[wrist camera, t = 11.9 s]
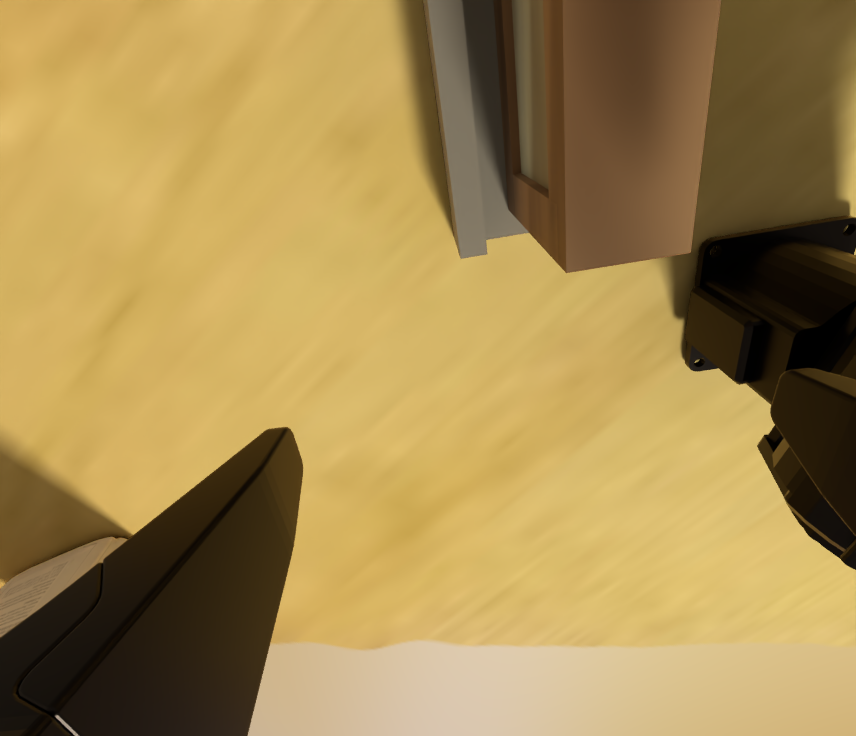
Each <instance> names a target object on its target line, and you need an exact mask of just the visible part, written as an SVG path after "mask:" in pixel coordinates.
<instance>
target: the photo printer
mask: <svg viewBox="0 0 856 736" xmlns="http://www.w3.org/2000/svg"><path fill="white" fill-rule="evenodd" d="M127 540H128V539H125V538H117V539H116V538H114V537H107V538H103V539H99V540H96V541H93V542H90V543H88V544H85V545H83V546H80V547H78V548H76V549H73V550H71V551H68V552H66V553H64V554H61V555H59V556H57V557H54V558H52V559H50V560H48V561H45V562H43V563H41V564H38V565H36V566H34V567H31V568H29V569H27V570H26V571H24V572H22V573H20V574H18V575H16V576H14V577H13V578H12V579H10V580H9V581H8V582H7V583H6V584H5V585H4V586H2V587H1V588H0V637H1V636H3V635H4V634H5V633H7V632H8V631H9V630H11V629H12V628H14V627H15V626H16V625H18V624H19V623H21V622H22V621H23V620H25V619H26V618H27V617H29V616H30V615H32V614H33V613H34V612H36V611H37V610H38V609H40V608H41V607H42V606H44V605H45V604H46V603H47V602H49V601H50V600H51V599H53V598H54V597H55V596H57V595H58V594H59V593H60V592H62V591H63V590H64V589H66V588H67V587H68V586H70V585H71V584H72V583H74V582H75V581H76V580H77V579H79V578H80V577H81V576H82V575H84V574H85V573H86V572H87V571H89V570H90V569H91V568H92V567H94V566H95V565H96V564H97V563H100V562H102V563H103V560H104V558H105V557H106V556H108V555H109V554H110V553H111V552H113V551H114V550H115V549H117V548H118V547H119V546H120V545H122V544H123V543H124V542H125V541H127Z"/></svg>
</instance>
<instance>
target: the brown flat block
mask: <svg viewBox="0 0 856 736" xmlns="http://www.w3.org/2000/svg"><path fill="white" fill-rule="evenodd" d="M493 2H494V16H495V29H496V43H497V57H498V71H499V85H500V99H501V113H502V127H503V141H504V154H505V168H506V182H507V196H508V210H509V211H510V212H511V213H512V214H513V215H514V217H515V218H516V219H517V220H518V221H519V222H520V223H521V224H522V225H523V226H524V227H525V229H526V230H527V231H528V232H529V233H530V234H531V235H532V236H533V237H534V238H535V239H536V240H537V242H538V243H539V244H540V245H541V246H542V247H543V248H544V249H545V250H546V251H547V252H548V254H549V255H550V256H551V257H552V258H553V259H554V260H555V261H556V262H557V263H558V264H559V266H560V267H561V268H562V269H563V270H564V271H565V272H566V273H569V272H576V271H582V270H588V269H594V268H600V267H606V266H613V265H619V264H625V263H631V262H637V261H643V260H650V259H656V258H662V257H668V256H674V255H681V254H687V253H691V246H692V238H693V229H694V221H695V213H696V205H697V196H698V188H699V180H700V172H701V163H702V155H703V147H704V139H705V130H706V122H707V114H708V106H709V97H710V89H711V81H712V73H713V64H714V56H715V48H716V40H717V31H718V23H719V15H720V7H721V0H493Z"/></svg>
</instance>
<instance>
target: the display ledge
mask: <svg viewBox="0 0 856 736" xmlns="http://www.w3.org/2000/svg"><path fill="white" fill-rule="evenodd" d="M423 5H424V12H425V20H426V27H427V35H428V42H429V50H430V57H431V65H432V72H433V80H434V88H435V95H436V103H437V110H438V118H439V125H440V133H441V140H442V148H443V155H444V163H445V170H446V178H447V186H448V193H449V201H450V208H451V216H452V223H453V231H454V238H455V242H456V245H457V248H458V252H459V255H460V258H461V259H462V258H468V257H474V256H480V255H486V254H487V245H486V240H488V239H494V238H500V237H506V236H512V235H517V234H523V233H529V232H528V231H527V230H526V229H525V227H524V226H523V225H522V224H521V223H520V222H519V221H518V220H517V219H516V218H515V217H514V215H513V214H512V213H511V212H510V211H509V210H508V196H507V182H506V168H505V154H504V141H503V127H502V113H501V99H500V85H499V71H498V57H497V43H496V29H495V16H494V2H493V0H423Z"/></svg>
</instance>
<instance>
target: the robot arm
mask: <svg viewBox="0 0 856 736" xmlns="http://www.w3.org/2000/svg"><path fill="white" fill-rule="evenodd" d="M847 225H848V228H847V229H846V231H844V232H843V230H844V228H845V227H846V226H847ZM715 246H717V249H716V251H715V252H714V253H713V254H711V255H710V251H711V249H712V248H713V247H715ZM855 249H856V218H855V217H851V216H841V217H835V218H829V219H823V220H817V221H811V222H805V223H798V224H792V225H786V226H780V227H774V228H768V229H762V230H756V231H750V232H744V233H738V234H731V235H725V236H719V237H713V238H710V239H707V240H706V241H705V242H703V244H702V245H701V246H700V249H699V255H698V262H697V270H696V278H695V286H694V288H693V290H692V291H691V294H690V302H689V310H688V318H687V326H686V334H685V339H686V341H687V348H686V355H685V364H686V365H687V366H688V367H689V368H690V369H691V370H693V371H704V370H711V369H717V368H719V369H720V370H721V371H723V372H724V373H725V374H726V375H727V376H728V377H730V378H731V379H732V380H733V381H734V382H736V383H737V384H739V385H740V384H747V385H748V386H749V387H751V388H752V389H753V390H754V391H755V392H757V393H758V394H759V395H760V396H761V397H763V398H764V399H765V400H766V401H767V402H769V403H770V404H771V411H770V413H771V417H772V420H773V422H774V424H775V426H774V427H773V429H772V430H771V432H770V433H769V434H768V435H764V436H763V438H762V439H761V441H760V442H759V444H758V445H757V447H758V449H759V451H760V453H761V454H762V456H763V458H764V460H765V462H766V464H767V466H768V468H769V470H770V471H771V473H772V475H773V477H774V479H775V481H776V483H777V485H778V487H779V488H780V490H781V492H782V494H783V496H784V499H785V501H786V503H787V505H788V507H789V508H790V509H791V511H792V513H793V515H794V516H795V518H796V519H797V521H798V522H799V524H800V525H801V526H802V527H803V528H804V530H805V531H806V533H807V534H808V535H809V536H810V537H811V538H812V539H814V540H815V541H817V542H819V543H820V544H821V545H822V546H823V547H825V548H826V549H827V550H829V551H830V552H832V553H833V554H834V555H836V556H837V557H839V558H840V559H841V560H842V561H843V562H844V563H845V564H846V565H847V566H849V567H851V568H853V569H855V570H856V255H854V252H855ZM699 358H700V360H699V361H698V362H696V363H694V362H695V361H696V360H697V359H699ZM302 477H303V463H302V459H301V456H300V453H299V450H298V447H297V444H296V441H295V438H294V435H293V432H292V431H291V429H290V428H288V427H282V428H273V429H268V430H266V431H264V432H263V433H262V434H261V435H259V436H258V437H257V438H256V439H254V440H253V441H252V442H251V443H249V444H248V445H247V446H245V447H244V448H243V449H242V450H240V451H239V452H238V453H237V454H235V455H234V456H233V457H232V458H230V459H229V460H228V461H227V462H225V463H224V464H223V465H221V466H220V467H219V468H218V469H216V470H215V471H214V472H213V473H211V474H210V475H209V476H208V477H206V478H205V479H204V480H203V481H201V482H200V483H199V484H197V485H196V486H195V487H194V488H192V489H191V490H190V491H189V492H187V493H186V494H185V495H184V496H182V497H181V498H180V499H179V500H177V501H176V502H175V503H173V504H172V505H171V506H170V507H168V508H167V509H166V510H165V511H163V512H162V513H161V514H160V515H158V516H157V517H156V518H154V519H153V520H152V521H151V522H149V523H148V524H147V525H146V526H144V527H143V528H142V529H141V530H139V531H138V532H137V533H136V534H134V535H133V536H132V537H130V538H129V539H128V540H127V541H125V542H124V543H123V544H122V545H120V546H119V547H118V548H117V549H115V550H114V551H113V552H111V553H110V554H109V555H108V556H106V557H105V558H104V560H103V563H102V562H100V563H97V564H96V565H95V566H94V567H92V568H91V569H90V570H89V571H87V572H86V573H85V574H84V575H82V576H81V577H80V578H79V579H77V580H76V581H75V582H74V583H72V584H71V585H70V586H68V587H67V588H66V589H64V590H63V591H62V592H60V593H59V594H58V595H57V596H55V597H54V598H53V599H51V600H50V601H49V602H47V603H46V604H45V605H44V606H42V607H41V608H40V609H38V610H37V611H36V612H34V613H33V614H32V615H30V616H29V617H27V618H26V619H25V620H23V621H22V622H21V623H19V624H18V625H16V626H15V627H14V628H12V629H11V630H9V631H8V632H7V633H5V634H4V635H3V636H1V637H0V736H247V735H248V731H249V727H250V723H251V718H252V715H253V711H254V707H255V703H256V699H257V695H258V691H259V686H260V683H261V678H262V674H263V670H264V666H265V662H266V658H267V654H268V650H269V646H270V642H271V638H272V634H273V630H274V625H275V621H276V617H277V613H278V609H279V605H280V601H281V597H282V593H283V589H284V585H285V581H286V577H287V573H288V568H289V564H290V560H291V556H292V551H293V547H294V540H295V534H296V526H297V518H298V509H299V501H300V493H301V485H302Z"/></svg>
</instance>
